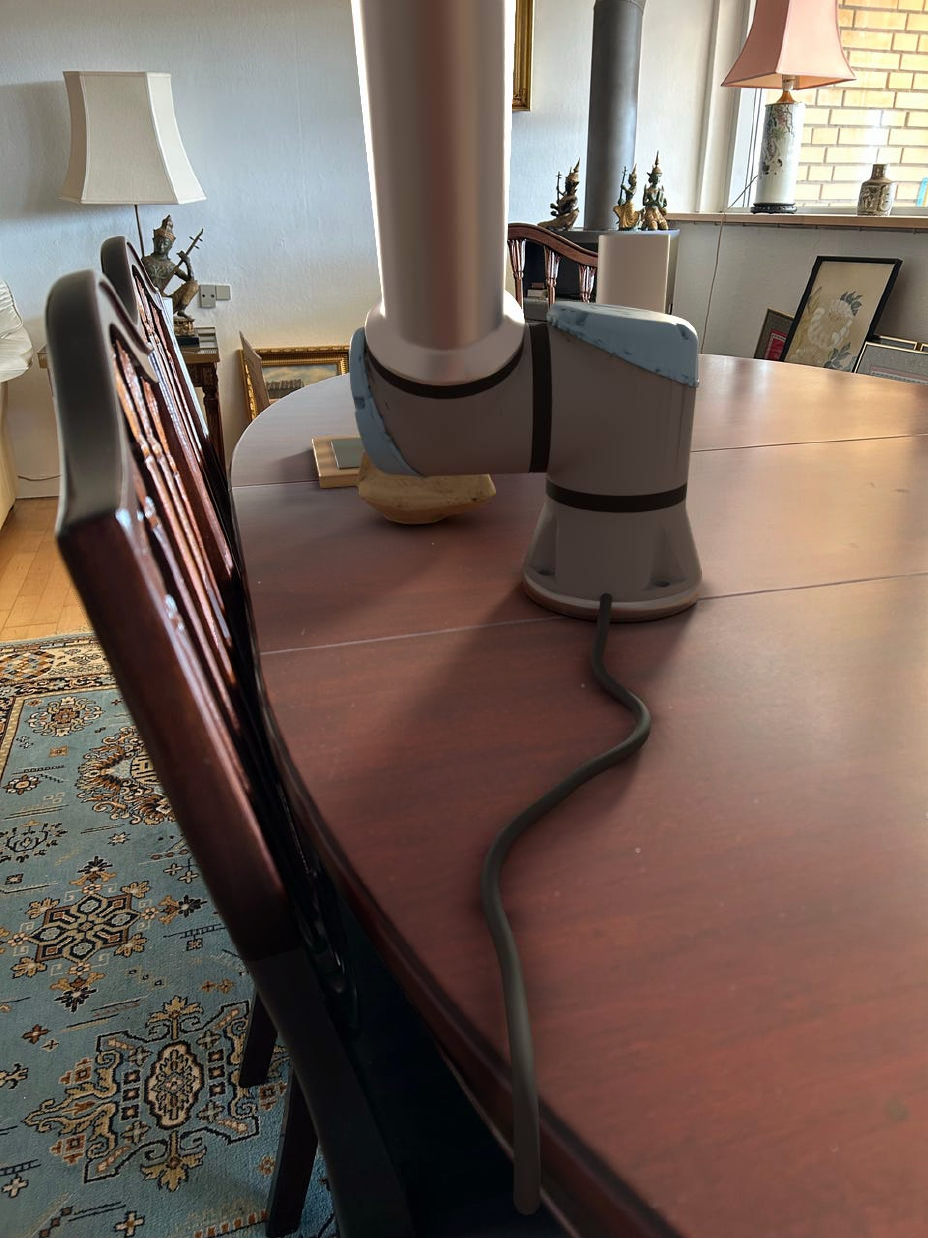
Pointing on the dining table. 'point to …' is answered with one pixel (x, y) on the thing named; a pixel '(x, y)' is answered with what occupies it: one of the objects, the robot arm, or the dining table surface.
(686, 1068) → the dining table surface
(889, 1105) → the dining table surface
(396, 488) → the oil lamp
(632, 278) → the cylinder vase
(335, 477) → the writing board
